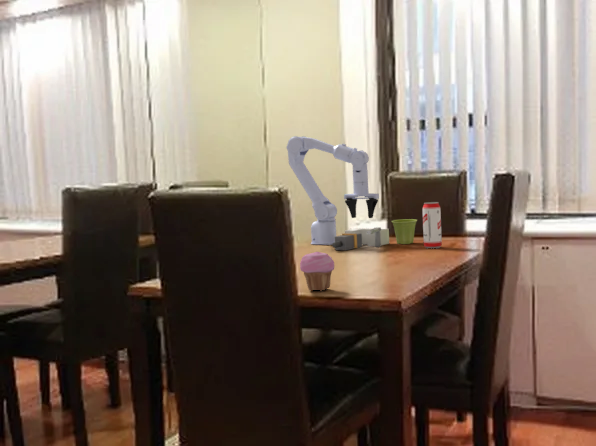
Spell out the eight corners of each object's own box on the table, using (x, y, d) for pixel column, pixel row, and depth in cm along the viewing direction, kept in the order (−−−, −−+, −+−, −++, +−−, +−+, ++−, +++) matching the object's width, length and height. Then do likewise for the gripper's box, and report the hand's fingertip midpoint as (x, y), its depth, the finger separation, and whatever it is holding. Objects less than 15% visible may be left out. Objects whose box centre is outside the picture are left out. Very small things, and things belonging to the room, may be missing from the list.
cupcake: (328, 294, 184) (326, 254, 184) (296, 293, 188) (294, 254, 187) (340, 287, 193) (338, 249, 192) (308, 287, 196) (306, 249, 195)
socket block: (342, 245, 282) (341, 230, 281) (358, 242, 290) (357, 227, 290) (379, 247, 272) (378, 231, 272) (393, 243, 281) (393, 228, 280)
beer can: (441, 246, 266) (439, 201, 264) (442, 248, 259) (441, 202, 258) (423, 247, 266) (421, 202, 265) (424, 249, 260) (422, 203, 259)
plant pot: (419, 244, 275) (418, 220, 274) (393, 245, 275) (393, 222, 274) (416, 241, 284) (415, 218, 283) (391, 242, 284) (390, 220, 284)
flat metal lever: (372, 234, 261) (372, 231, 261) (365, 234, 262) (365, 231, 262) (381, 230, 274) (381, 227, 274) (374, 230, 275) (374, 227, 275)
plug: (328, 251, 267) (327, 236, 267) (350, 246, 279) (349, 232, 278) (341, 251, 264) (340, 237, 263) (363, 246, 275) (362, 232, 275)
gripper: (339, 183, 285) (340, 218, 286) (371, 182, 277) (373, 218, 278) (349, 182, 291) (350, 216, 292) (381, 181, 282) (382, 217, 283)
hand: (362, 217), depth 285 cm, fingers open, 7 cm apart
